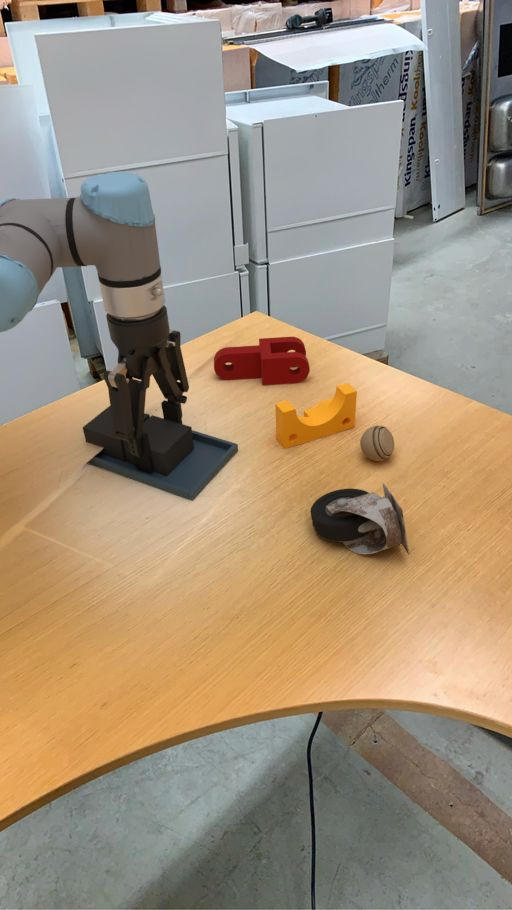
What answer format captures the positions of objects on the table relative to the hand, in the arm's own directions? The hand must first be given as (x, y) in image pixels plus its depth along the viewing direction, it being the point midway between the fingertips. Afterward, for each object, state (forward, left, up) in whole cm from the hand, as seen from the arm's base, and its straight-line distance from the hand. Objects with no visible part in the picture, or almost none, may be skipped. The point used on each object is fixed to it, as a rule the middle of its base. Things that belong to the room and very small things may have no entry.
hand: (160, 454), depth 95 cm
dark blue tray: (-1, 0, -1) cm, 1 cm away
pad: (-7, 0, 0) cm, 7 cm away
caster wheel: (+31, -2, -1) cm, 31 cm away
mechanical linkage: (+2, +27, -1) cm, 27 cm away
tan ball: (+28, +14, -1) cm, 31 cm away
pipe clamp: (+17, +16, -1) cm, 23 cm away
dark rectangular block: (0, 0, 0) cm, 0 cm away
